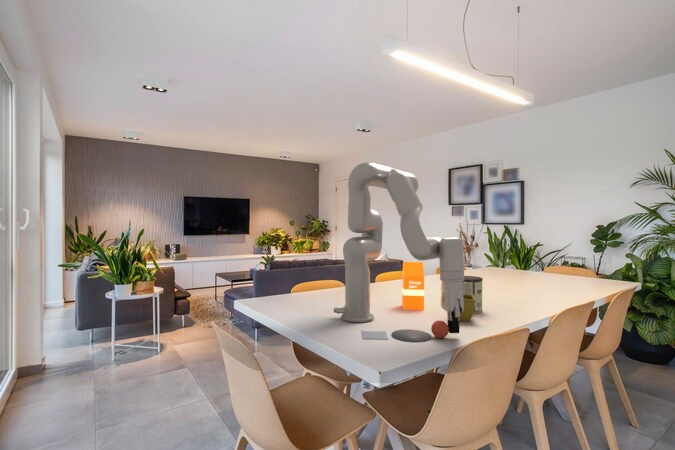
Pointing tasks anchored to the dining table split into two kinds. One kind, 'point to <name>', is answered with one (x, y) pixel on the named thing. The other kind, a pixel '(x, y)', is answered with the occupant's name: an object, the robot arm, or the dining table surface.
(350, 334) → the dining table surface
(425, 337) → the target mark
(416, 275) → the orange juice
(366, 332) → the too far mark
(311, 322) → the dining table surface
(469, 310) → the flower pot
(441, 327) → the ball
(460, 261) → the robot arm
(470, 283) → the coffee can
